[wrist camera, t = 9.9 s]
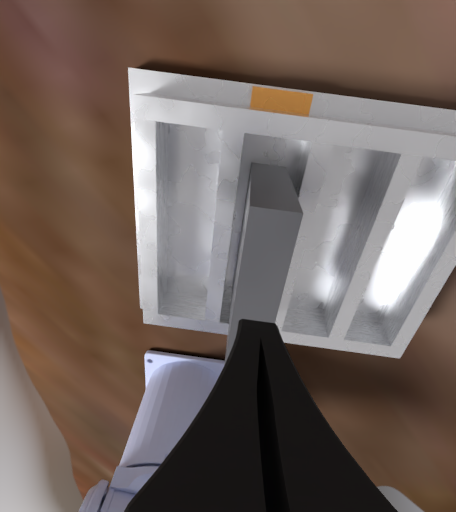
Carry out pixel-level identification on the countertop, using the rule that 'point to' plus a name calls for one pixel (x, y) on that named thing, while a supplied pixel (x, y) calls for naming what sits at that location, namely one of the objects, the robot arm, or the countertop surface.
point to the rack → (311, 201)
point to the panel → (264, 247)
